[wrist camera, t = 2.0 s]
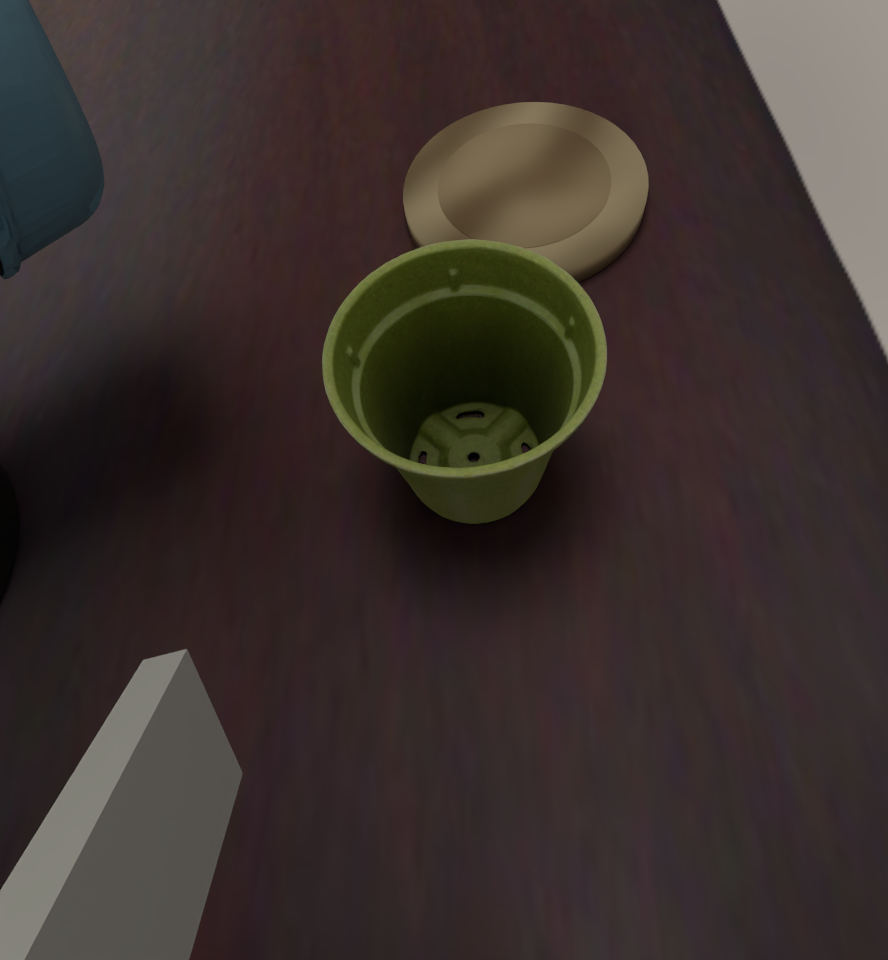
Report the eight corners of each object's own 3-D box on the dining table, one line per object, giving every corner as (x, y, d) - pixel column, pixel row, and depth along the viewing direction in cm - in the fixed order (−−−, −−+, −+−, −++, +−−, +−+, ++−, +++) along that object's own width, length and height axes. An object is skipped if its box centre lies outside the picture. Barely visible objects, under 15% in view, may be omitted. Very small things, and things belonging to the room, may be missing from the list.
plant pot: (564, 363, 30) (580, 221, 23) (599, 549, 26) (634, 456, 19) (372, 387, 31) (322, 257, 23) (378, 573, 27) (321, 492, 19)
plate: (361, 242, 35) (356, 224, 34) (481, 98, 39) (480, 78, 38) (574, 330, 31) (576, 313, 30) (684, 160, 35) (689, 139, 34)
